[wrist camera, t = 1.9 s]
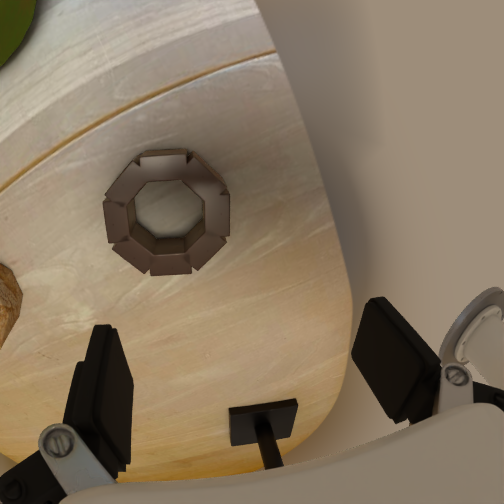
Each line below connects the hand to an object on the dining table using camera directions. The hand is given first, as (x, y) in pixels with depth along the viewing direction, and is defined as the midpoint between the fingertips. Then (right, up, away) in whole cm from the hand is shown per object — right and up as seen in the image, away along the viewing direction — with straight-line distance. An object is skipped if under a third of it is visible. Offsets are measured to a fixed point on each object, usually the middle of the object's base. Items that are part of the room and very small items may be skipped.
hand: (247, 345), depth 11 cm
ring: (-6, +7, +13) cm, 16 cm away
